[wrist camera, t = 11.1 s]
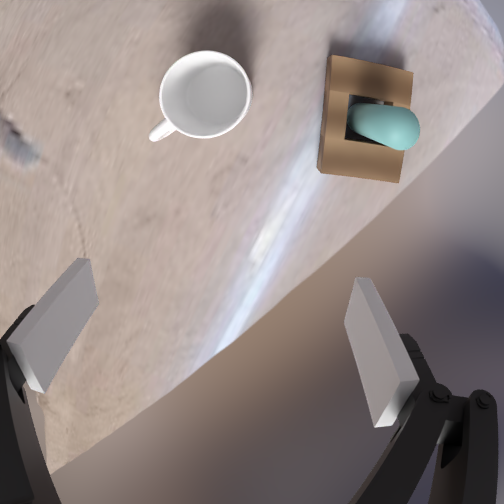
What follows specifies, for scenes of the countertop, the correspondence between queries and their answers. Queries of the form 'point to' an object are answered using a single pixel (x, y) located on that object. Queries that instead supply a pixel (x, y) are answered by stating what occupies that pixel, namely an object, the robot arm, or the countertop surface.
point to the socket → (335, 116)
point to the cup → (203, 96)
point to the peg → (385, 124)
